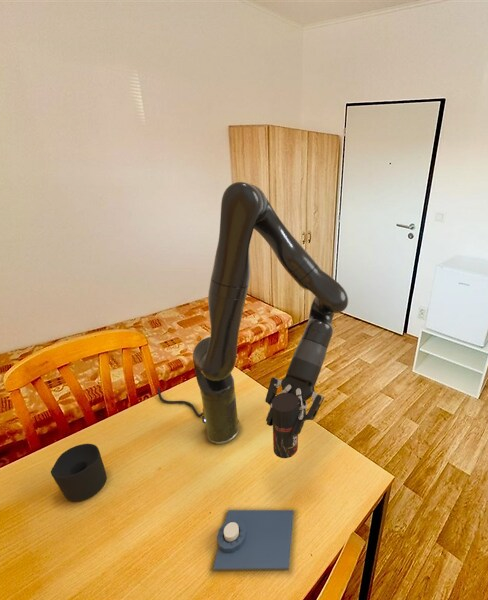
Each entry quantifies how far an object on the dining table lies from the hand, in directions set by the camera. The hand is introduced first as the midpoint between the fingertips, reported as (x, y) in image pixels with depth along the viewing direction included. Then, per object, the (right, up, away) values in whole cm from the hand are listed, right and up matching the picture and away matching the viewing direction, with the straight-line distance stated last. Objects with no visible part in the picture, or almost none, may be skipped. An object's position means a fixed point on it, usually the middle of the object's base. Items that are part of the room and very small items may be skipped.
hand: (281, 430), depth 73 cm
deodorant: (0, -7, +5) cm, 8 cm away
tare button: (-11, -23, -1) cm, 26 cm away
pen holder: (-52, -18, +9) cm, 55 cm away
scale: (-6, -25, 0) cm, 26 cm away
